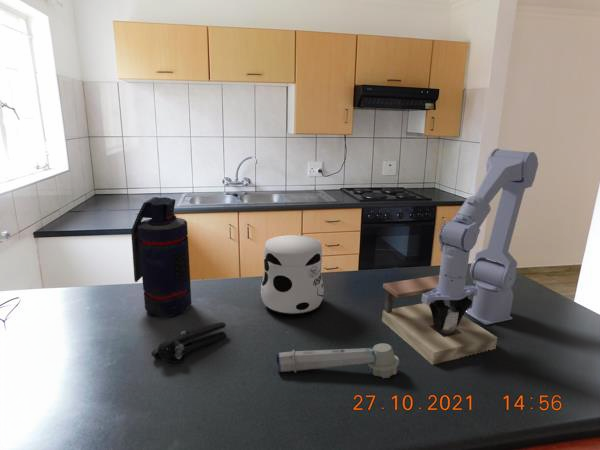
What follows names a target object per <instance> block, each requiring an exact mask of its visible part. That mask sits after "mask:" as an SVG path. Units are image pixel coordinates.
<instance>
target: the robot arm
mask: <svg viewBox="0 0 600 450" xmlns="http://www.w3.org/2000/svg"><path fill="white" fill-rule="evenodd" d="M486 160H487V161H486V173H485V175H484V178H483V179H482V181H481V184H480V185H479V187H478V188H477V190H476V192H475V194H474V195H471V196H468V197H467V198H466V199H465V200H464V202H463V204H462V205H461V206H460V208H459V209H458V211H457V212H456V214H455V215H454V216H453V218H452V220H449V221H446V222H445V223H444V224H443V225H442V226H441V227H440V231H439V233H438V241H439V244H440V247H439V250H440V252H441V259H440V269H439V274H438V275H439V282H438V285H436V289H434V290H432V291H430V292H427V293H424V294H421V302H422V303H424V304H426V305H429V307H430V309H431V312H432V316H433V322H434V327H435V328H437V329H438V330H439V331H440V330H442V329H443V325H444V320H445V316H446V314H447V312H448V310H449V309H450V307H448V306H452V307H455V308H457V309H458V310H459V314H458V320H457V326H458V324H459V322H460V320H461V318H462V316H464V314H465V313H466V314H467V315H469V316H470V317H472V318H474V319H475V320H477V321H478V322H480V323H482V324H483V325H485V326H487V325H492V324H496V323H502V322H505V321H510V320H513V316H511V312H512V305H513V300H514V292H513V289H512V287H513V285H514V284H515V282H516V281H515V280H516V278H517V269H518V268H517V267H518V261H516V259H515V258H514V257H513V256H512V255H511V254H510V252H509V251H510V246H511V242H512V239H513V235H514V230H515V228H516V223H517V220H518V216H519V212H520V209H521V204H522V200H523V197H524V193H525V190H526V189H529V188H531V187H533V183H534V181H535V178H536V174H537V170H538V168H539V161H538V160H539V159H538V155H537V154H536V153H535V152H534V151H521V150H520V151H519V150H509V149H508V150H507V149H500V148H494V149H493V150H492V151H491V152H490V153H489V155H488V156H487V159H486ZM500 190H502V191H501V194H500V198H499V201H498V205H497V209H496V213H495V216H494V220H493V225H492V228H491V232H490V236H489V240H488V245H487V247H486V248H484V249H481V250H479V251H478V252H476V253H475V256H474V260H473V261H472V263H471V265H470V268H469V276H470V278H471V279H472V280H473V281H472V283H473V284H475V285H466V279H467V273H468V267H469V261H470V252H471V250H472V249H474V247H475V246H476V244H477V242H478V237H479V235H480V233H481V229H480V228H481V226H482V224H483V223H484V221H485V220H486V219H487V217H488V215H489V214H490V212H491V210H492V209H491V205H490V203H491V202H492V200H493V199H494V198H495V197H496V196H497V194H498V193H499V192H500ZM469 296H470V297H471V296H472V297H473V298H472V299H470V298H469ZM445 301H449V305H447V304H446V302H445ZM445 304H446V305H445ZM470 307H471V308H470ZM457 326H456V327H457Z"/></svg>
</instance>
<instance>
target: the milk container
mask: <svg viewBox="0 0 600 450" xmlns="http://www.w3.org/2000/svg"><path fill="white" fill-rule="evenodd" d="M322 248H323V247H322V244H321V241H319V240H318V239H316V238H314V237H309V236H305V235H293V234H291V235H288V234H287V235H281V236H280V235H279V236H274V237H271V238H268V240H266V241H265V244H264V249H263V256H264V257H263V277H262V281H261V284H260V296H261V300H262V302H263V304H264V306H265V307H266V308H268V309H269V310H271V311H273V312H275V313H279V314H282V315H290V316H293V315H304V314H306V313H307V314H308V313H311V312H313V311H315V310H316V309H318V308H319V307H320V305H321V303H322V302H323V298H324V293H325V285H324V283H323V278H322V265H323V264H322V263H323V249H322Z"/></svg>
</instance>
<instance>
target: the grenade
mask: <svg viewBox="0 0 600 450" xmlns="http://www.w3.org/2000/svg"><path fill="white" fill-rule="evenodd" d="M175 205H176V199H173V198H169V197H158V196H155V197H152V198H149V199H147V200H146V201H144V202H143V204H142V206H141V208H140V209H139V211H138V213H137V215H136V217H135V220H134V223H133V225H132V228H131V230H130V231H131V232H130V234H131V249H132V263H133V277H134V278H133V280H134V283H137V282H138V281H139V280H141V279H142V289H143V291H144V292H143V299H144V300H143V301H144V309H145V311H146V312H147V313H148V315H149V316H150V317H154V316H159V317H160V316H162V317H163V316H164V317H165V316H172V318H173V317H174V318H177V317H180V316H181V315H183V314H184V311H186V310H187V309H189V308H190V306H191V305H192V290H191V269H190V252H189V250H190V249H189V235H188V233H189V232H188V231H189V230H188V222H187V220H186V219H183V218H181V217H177V215H176V214H175V213H174V211H175ZM143 219H145V220H143Z"/></svg>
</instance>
